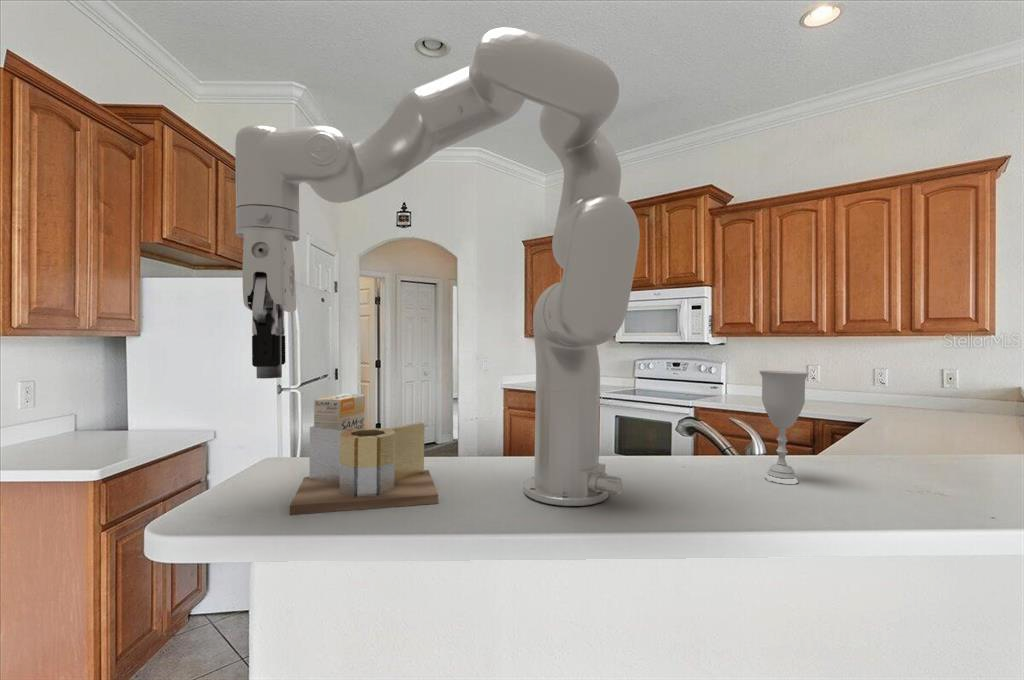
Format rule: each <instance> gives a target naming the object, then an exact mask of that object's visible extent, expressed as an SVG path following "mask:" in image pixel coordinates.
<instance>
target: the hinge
mask: <svg viewBox="0 0 1024 680" xmlns="http://www.w3.org/2000/svg"><path fill="white" fill-rule="evenodd" d="M308 465H309V466H308V467H309V472H308V473H309V475H308V477H309V480H315V481H320V482H326V483H331V484H337V485H340V493H341V494H342V495H346V496H350V497H356V496H357V498H358V497H372V496H376V495H383V494H385V493H388V492H391V491H393V490H394V482H395V481H398V480H402V479H405V478H408V477H411V476H415V475H418V474H421V473H424V470H425V422H415V423H410V424H404V425H398V426H394V427H388V428H383V427H382V428H381V427H379V428H378V427H366V428H365V427H364V428H362V429H354V430H346V429H337V428H329V427H321V426H314V425H313V426H309V464H308Z"/></svg>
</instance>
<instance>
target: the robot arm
mask: <svg viewBox="0 0 1024 680" xmlns="http://www.w3.org/2000/svg"><path fill="white" fill-rule="evenodd" d="M619 97H620V85H619V82H618V78H617V76H616V74H615V72H614V71H613V69H612V68H610V66H609V64H607V63H606V62H605V61H603V60H602V59H601V58H598V57H597V56H595V55H593V54H590V53H588V52H585V51H583V50H580V49H578V48H575V47H572V46H570V45H567V44H564V43H563V42H559V41H556V40H554V39H552V38H548V37H546V36H545V35H541V34H537V33H534V32H531V31H529V30H525V29H521V28H517V27H507V26H505V27H504V26H503V27H496V28H493V29H490V30H488V31H487V32H486V33H484V34H483V35H482V36H481V37H480V39H479V40H478V43H477V45H476V47H475V51H474V55H473V60H472V63H471V64H469V65H467V66H465V67H463V68H460V69H458V70H456V71H453V72H451V73H449V74H446V75H444V76H440V77H439V78H436V79H433V80H432V81H430V82H426V83H424V84H421V85H419V86H417V87H415V88H412V89H410V90H409V91H408V92H407V93H406V94H405V95H404V96H403V97H401V99H400V101H399V102H398V104H397V105H396V106H395V108H394V110H393V111H392V113H391V115H390V116H389V117H388V118H387V120H386V121H385V123H384V124H382V125H381V126H380V127H379V128H378V129H377V130H376V131H374V132H373V133H372V134H370V135H369V136H367V137H365V138H364V139H361V140H360V141H358V142H355V143H353V142H351V140H350V139H349V137H348V136H347V135H346V134H345V133H344V132H343V131H341V130H339V129H338V128H335V127H333V126H330V125H324V124H322V125H319V124H318V125H317V124H316V125H308V126H307V125H306V126H297V127H287V128H286V127H285V128H277V127H273V126H270V125H269V126H268V125H260V124H259V125H258V124H255V125H254V124H253V125H251V124H250V125H246V126H244V127H242V128H240V129H239V130H238V131H237V134H236V137H235V143H234V144H235V145H234V146H235V148H234V149H235V152H234V153H235V235H236V236H237V237H238V238H243V246H242V249H243V250H242V301H243V305H244V307H246V308H247V309H248V310H250V311H251V312H252V316H251V317H252V319H251V320H252V321H251V325H252V326H251V331H252V335H251V357H252V358H251V364H252V366H253V367H255V368H257V367H276V366H279V365H280V335H277V332H278V306H280V308H281V336H282V365H285V364H286V335H285V332H286V331H285V312H287V313H294V312H295V311H297V291H296V267H295V254H294V253H295V252H294V246H293V243H294V242H298V241H300V185H301V183H305V184H307V185H309V186H310V187H311V189H312V190H313V192H315V194H316V195H317V196H318V197H320V198H321V199H323V200H325V201H327V202H328V203H329V202H330V203H334V204H336V203H337V204H341V203H348V202H352V201H355V200H357V199H360V198H362V197H364V196H366V195H368V194H371V193H372V192H376V191H378V190H380V189H381V188H384V187H386V186H387V185H389V184H392V183H393V182H395V181H396V180H399V178H402V177H403V176H405V175H406V174H408V173H409V172H410V171H412V170H414V169H415V168H416V167H418V166H419V165H421V164H423V163H424V162H425V161H427V160H428V159H429V158H431V157H432V156H433V155H435V154H436V153H438V152H439V151H442V150H444V149H446V148H448V147H451V146H453V145H455V144H457V143H459V142H461V141H464V140H466V139H468V138H471V137H473V136H476V135H477V134H479V133H481V132H482V133H483V132H484V131H487V130H488V129H491V128H493V127H496V126H497V125H500V124H502V123H504V122H506V121H508V120H510V119H511V118H513V117H514V116H515V115H516V114H517V113H518V112H519V111H520V109H521V108H522V107H523V105H524V103H525V101H526V100H527V101H528V100H529V101H530V102H533V103H535V104H538V105H541V106H543V107H542V108H541V112H540V115H539V121H538V122H539V131H540V134H541V136H542V139H543V140H544V142H545V144H546V145H547V146H548V148H549V149H550V150H551V151H552V152H553V153H554V154H555V155H556V157H557V159H558V160H559V162H560V163H561V166H562V169H563V183H562V191H561V196H560V202H559V206H558V212H557V217H556V222H555V226H554V229H553V230H554V231H553V233H552V242H551V245H552V247H551V248H552V249H551V250H552V254H553V258H554V260H555V262H556V263H557V264H558V266H559V267H560V268H562V269H563V271H562V277H561V280H560V281H559V282H556V283H554V284H552V285H550V286H548V287H547V288H546V289H544V291H543V292H542V293H541V294H540V296H539V297H538V299H537V301H536V303H535V306H534V310H533V315H532V327H533V329H532V330H533V337H534V348H535V349H534V350H535V403H534V404H535V405H534V407H535V414H534V416H535V417H534V418H535V421H534V476H531V477H530V478H528V479H527V480H526V481H525V482H524V483H523V484H524V485H523V492H524V494H525V495H526V496H528V497H529V498H530V499H532V500H534V501H537V502H540V503H543V504H548V505H555V506H561V507H562V506H563V507H564V506H566V507H577V506H578V507H581V506H582V507H583V506H591V505H595V504H598V503H601V502H604V501H605V500H607V498H608V497H609V496H610V495H609V494H612V495H617V496H620V495H621V494H622V492H623V488H624V487H623V481H622V480H623V479H622V477H620V476H616V475H609V474H608V473H607V472H606V464H605V463H599V462H600V460H599V459H600V454H599V453H600V398H601V395H600V394H601V369H600V365H601V364H600V358H599V353H598V352H599V351H598V345H599V346H600V345H603V344H604V343H607V342H608V341H610V340H611V339H612V338H614V336H616V335H617V334H618V332H619V331H620V330H621V327H622V325H623V324H624V321H625V318H626V315H627V311H628V307H629V303H630V299H631V298H630V297H631V292H632V286H633V281H634V276H635V270H636V266H637V260H638V253H639V247H640V241H641V240H640V233H641V232H640V226H639V222H638V218H637V215H636V213H635V211H634V210H633V208H632V206H630V204H629V203H628V202H627V201H625V200H624V199H623V198H621V197H619V196H620V189H621V182H622V180H621V179H622V169H621V168H622V167H621V163H620V159H619V157H618V155H617V153H616V150H614V148H613V146H612V144H611V142H610V141H609V140H608V138H607V137H606V136H605V135H604V134H603V133H602V131H601V130H600V128H601V127H602V126H603V125H604V123H606V121H608V119H609V118H610V117H611V116H612V115H613V112H614V111H615V109H616V107H617V104H618V101H619ZM252 298H253V303H252ZM266 308H273V310H266ZM271 316H272V317H271ZM271 320H272V321H271ZM257 335H258V336H257Z"/></svg>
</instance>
